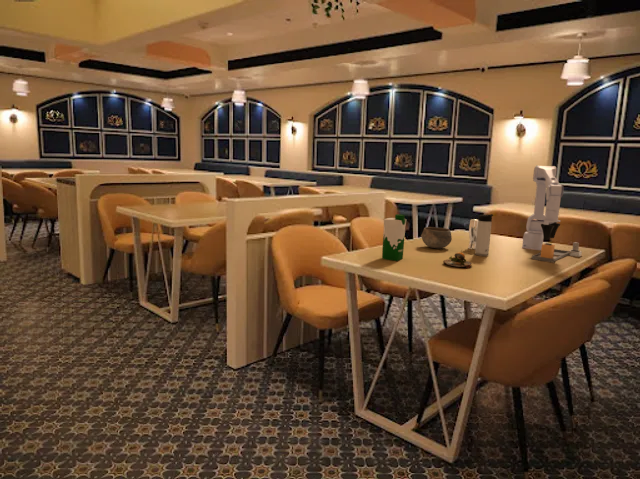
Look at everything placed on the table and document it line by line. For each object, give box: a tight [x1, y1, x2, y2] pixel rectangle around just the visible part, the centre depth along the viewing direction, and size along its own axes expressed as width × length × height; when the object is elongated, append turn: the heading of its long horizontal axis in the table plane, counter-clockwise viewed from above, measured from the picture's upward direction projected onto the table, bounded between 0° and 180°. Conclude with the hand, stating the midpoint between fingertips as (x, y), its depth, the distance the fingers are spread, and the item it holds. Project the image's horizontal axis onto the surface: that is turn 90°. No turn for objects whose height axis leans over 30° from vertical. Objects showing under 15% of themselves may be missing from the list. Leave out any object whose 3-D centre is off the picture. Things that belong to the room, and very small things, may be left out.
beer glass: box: [467, 218, 479, 251], centre depth 257 cm, size 7×7×15 cm
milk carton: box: [381, 214, 407, 262], centre depth 221 cm, size 9×9×20 cm
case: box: [539, 248, 569, 259], centre depth 248 cm, size 10×17×2 cm, turn 139°
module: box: [540, 242, 556, 258], centre depth 237 cm, size 4×4×7 cm
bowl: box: [420, 226, 453, 250], centre depth 255 cm, size 14×15×10 cm
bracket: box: [567, 248, 583, 258], centre depth 247 cm, size 5×5×3 cm
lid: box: [531, 252, 562, 263], centre depth 237 cm, size 10×13×2 cm
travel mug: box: [474, 213, 494, 257], centre depth 239 cm, size 6×7×20 cm
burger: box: [442, 250, 473, 270], centre depth 214 cm, size 12×12×8 cm
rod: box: [572, 241, 580, 252], centre depth 247 cm, size 3×3×7 cm
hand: (548, 238), depth 236 cm, fingers open, 7 cm apart
